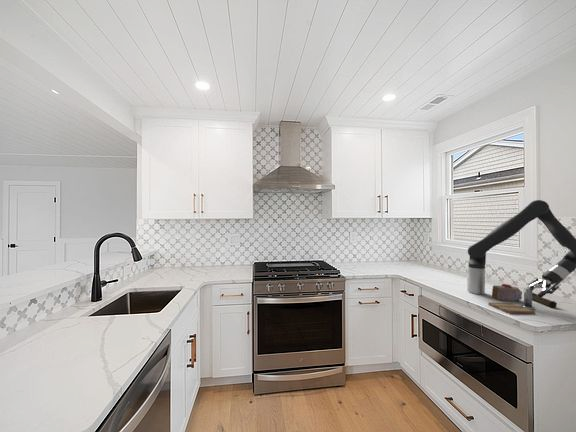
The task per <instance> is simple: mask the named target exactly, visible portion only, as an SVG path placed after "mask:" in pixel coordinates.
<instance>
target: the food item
mask: <svg viewBox="0 0 576 432" xmlns="http://www.w3.org/2000/svg"><path fill="white" fill-rule="evenodd" d="M491 298H493V299H495V300H497V301H507V302H512V301H513V302H516V301H517V302H518V301H521V300H522V299H523V292H522V291H521V290H520V288H519V287H517V286H514V285H513V286H511V285H510V284H507V283H506V284H505V283H502V284H501V285H493V286H492V291H491Z"/></svg>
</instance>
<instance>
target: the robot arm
mask: <svg viewBox="0 0 576 432" xmlns="http://www.w3.org/2000/svg"><path fill="white" fill-rule="evenodd" d="M536 219H538V220H540V221H541V223H542V224H543V225H544V226H545V228H547V230H548V231H549V232H550V234H551V235H552V236H553V238H554V239H555V240H556V241H557V242H558V244H559V245H560V246H561V247H563V248H566V249H568V250H569V251H568V252H567V253H566V254H565V255H564V256H562V259H561V260H559V261H558V262H557V263H556V264H554V266H551V267H550V268H549V269H547V271H545V272H544V273H543V274H542V275H541V278H540V279H539V278H538V277H535V278H533V279H532V280H531V281H530V282H529V283H527V285H528V287H527V288H529V289H532V292H533V291H534V289H535V290H536V289H542V290H541V291H540V292H537V293H536V294H537V296H538V297H540V298H544V296H546V295H548V294H550V295H552V294H554V293H555V292H556V291H557V290H558V289H559V288H560V286H559V284H561V283H562V282H563V281H564V280H565V279H566V278H568V276H569V275H570V274H572V273H573V272H574V271H576V237H575V236H574V235H573V234H572V233H571V232H570V231H569V229H568V228H566V227H565V226H564V224H562V223H561V222H560V221H559V220H558V219H557V217H556V216H555V215H554V213H553V212H552V210H551V208H550V206H549V203H548V202H546V201H545V200H542V199H537V200H532V201H531V202H529V204H527V205H526V206H525V207H524V208H523V209H522V210H520V211H519V212H518V213H516V214H515V215H513V216H511V217H509V218H508V219H507V220H505V221H504V222H502V223H500V224H499V225H498V226H496V227H495V228H494V229H492V230H491V231H490V232H489V233H488V234H487V235H486V236H484V237H483V238H482V239H480V240H479V241H476V243H475V242H474V244H472V245H470V246H469V247H468V248H467V254H468V256H469V261H468V274H467V275H468V276H467V291H468V292H469V293H471V294H475V295H485V294H486V261H487V252H488V251H490V250H491V249H492V248H494V247H496V246H498V245H500V244H502V243H503V242H505V241H507V240H509V239H510V238H512V237H513V236H515V235H516V234H518V232H520V231H521V230H522V229H523V228H524V227H525V226H526V225H528V224H529V223H530V222H531V221H533V220H536Z"/></svg>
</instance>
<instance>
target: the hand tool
mask: <svg viewBox="0 0 576 432" xmlns="http://www.w3.org/2000/svg"><path fill="white" fill-rule="evenodd" d="M537 294H538V293H535V292H532V302H533V301H534V302H535V301H536V302H538V303H541V304H542V305H545V306H547V307H549V308H550V309H551V308H552V309H555V308H557V305H558V303H557V302H556V301H554V300H550V299H547V298H544V297H542V298H540V297H538V296H537Z"/></svg>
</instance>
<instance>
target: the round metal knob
mask: <svg viewBox="0 0 576 432" xmlns="http://www.w3.org/2000/svg"><path fill="white" fill-rule="evenodd" d="M523 292H524V293H523V296H524V297H523V304H521V305H520V306H522V307H525V308H528V309H530V310H533V311H536V307H535V306H533V300H532V293H533V291H532V289H529V288H528V287H524V288H523Z"/></svg>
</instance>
